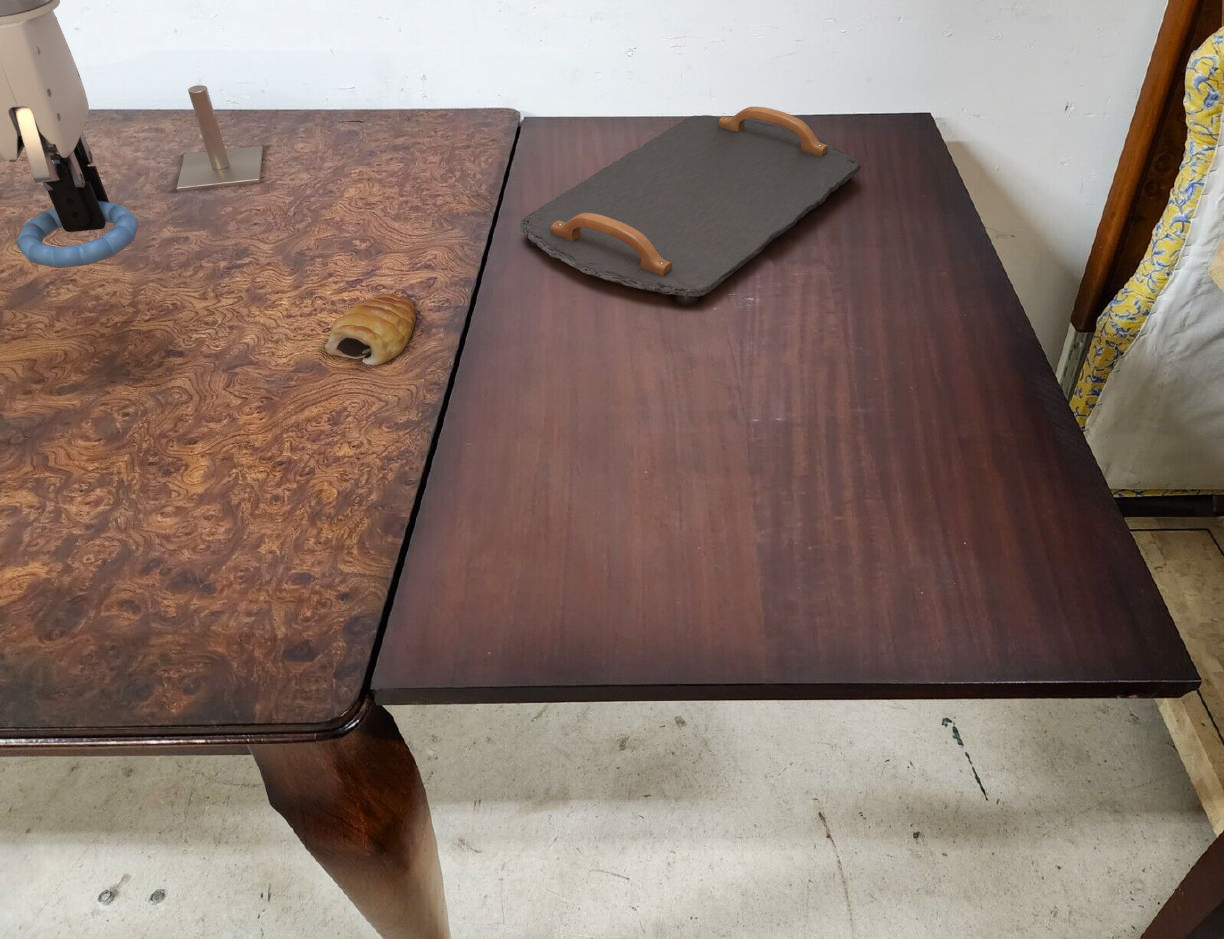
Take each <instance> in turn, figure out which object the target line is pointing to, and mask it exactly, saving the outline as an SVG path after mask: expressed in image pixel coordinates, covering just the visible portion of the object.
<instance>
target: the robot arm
mask: <svg viewBox="0 0 1224 939" xmlns="http://www.w3.org/2000/svg"><path fill="white" fill-rule="evenodd" d="M60 4H61V0H0V156H1V158H2V159H4V160H5V162H7V163H15V162H17V161H18V159H19V158H20V156H21V154H22V152H23V150H24V149H25V150H24V151H25V153H26V157H27V162H28V164H29V169H30V171H31V175H32V178H33V180H34V182H35V183H36V184H37V183H42V185H43V187H44V190H46V192H47V193H48V195H49V198H50V201H51V203H52V205H53V207H54V208H55V210H56V212H57V215H58V217H59V219H60V222H61V224H62V226H63V227H62V229H63V230H64V231H65V232H66V233H76V232H86V231H97V230H103V229H104V228H105V227H106V225H107V222H106V221H105V219H104V216H103V214H102V211H101V208H100V206H99V203H98V201H103V202H108V203H110V200H109V197H108V195H107V192H106V190H105V187H104V184H103V182H102V179H101V177H100V174H99V171H98V168H97V166H96V165H94V157H93V156H94V155H93V154H92V153H93V152H92V150H91V149H90V145H89V143H88V141H87V138H86V135H85V132H84V129H85V125H86V122H87V120H88V116H89V111H90V106H89V100H88V97H87V93H86V90H85V87H84V84H83V80H82V78H81V75H80V72H79V70H78V67H77V64H76V62H75V59H74V57H73V53H72V52H71V49H70V47H69V44H68V42H67V39H66V37H65V34H64V32H63V31H62V27H61V25H60V23H59V20H58V17H57V15H56V14H55V12H54V10H56V9H57V8H58V7H59V6H60Z"/></svg>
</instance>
